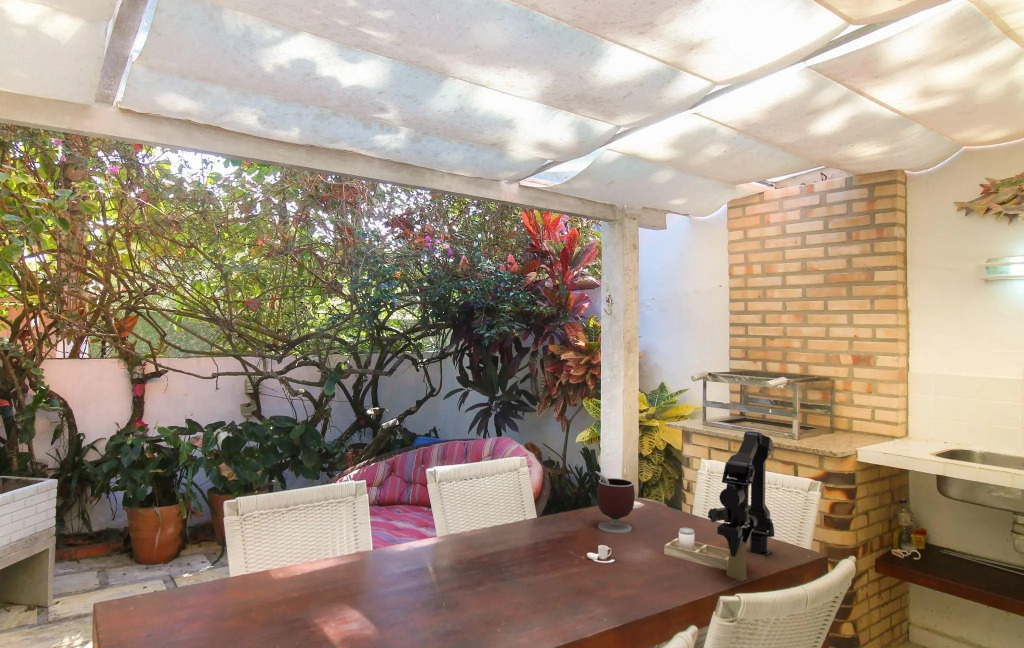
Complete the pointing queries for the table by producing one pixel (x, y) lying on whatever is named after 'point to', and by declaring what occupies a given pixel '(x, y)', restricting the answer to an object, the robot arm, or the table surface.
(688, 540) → the salt shaker
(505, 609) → the table surface
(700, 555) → the caddy
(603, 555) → the teacup and saucer
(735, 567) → the olive tapered block
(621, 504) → the mate gourd
